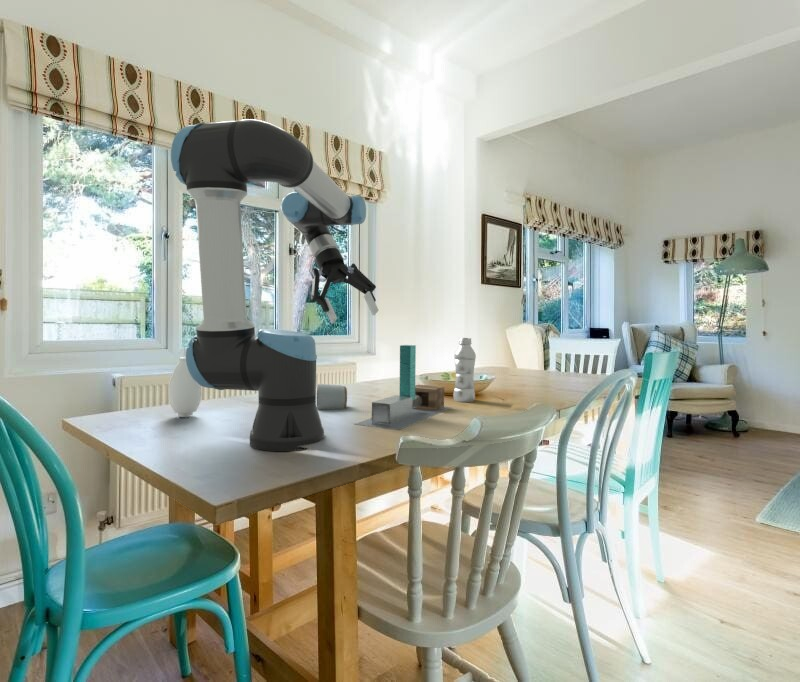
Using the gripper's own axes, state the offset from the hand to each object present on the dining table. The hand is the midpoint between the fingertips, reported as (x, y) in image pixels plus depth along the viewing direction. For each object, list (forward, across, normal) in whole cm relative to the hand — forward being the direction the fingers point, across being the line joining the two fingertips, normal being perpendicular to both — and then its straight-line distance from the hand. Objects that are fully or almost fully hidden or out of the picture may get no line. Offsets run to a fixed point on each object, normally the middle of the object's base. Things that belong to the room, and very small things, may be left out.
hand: (355, 316), depth 141 cm
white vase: (+8, +45, -24) cm, 51 cm away
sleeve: (+32, +6, +5) cm, 33 cm away
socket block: (+30, -11, -4) cm, 32 cm away
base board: (+32, 0, +1) cm, 32 cm away
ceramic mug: (+19, +10, -17) cm, 27 cm away
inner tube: (+30, +1, +4) cm, 30 cm away
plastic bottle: (+32, -28, -9) cm, 43 cm away
